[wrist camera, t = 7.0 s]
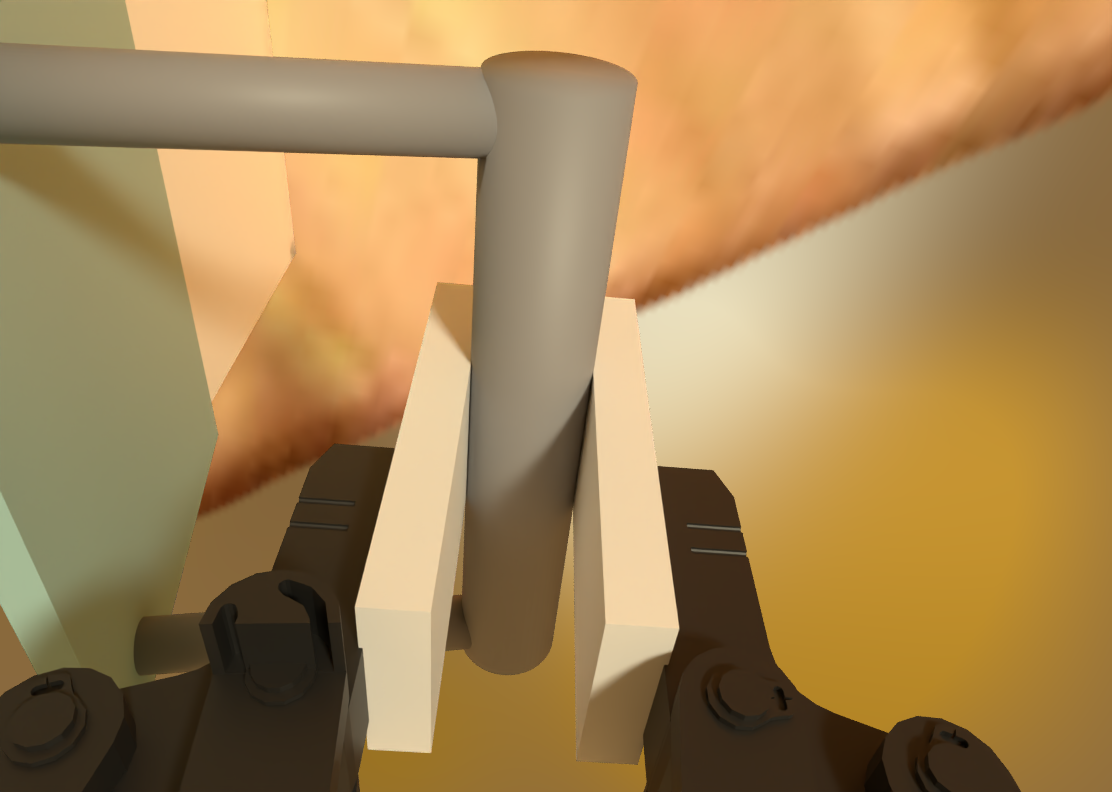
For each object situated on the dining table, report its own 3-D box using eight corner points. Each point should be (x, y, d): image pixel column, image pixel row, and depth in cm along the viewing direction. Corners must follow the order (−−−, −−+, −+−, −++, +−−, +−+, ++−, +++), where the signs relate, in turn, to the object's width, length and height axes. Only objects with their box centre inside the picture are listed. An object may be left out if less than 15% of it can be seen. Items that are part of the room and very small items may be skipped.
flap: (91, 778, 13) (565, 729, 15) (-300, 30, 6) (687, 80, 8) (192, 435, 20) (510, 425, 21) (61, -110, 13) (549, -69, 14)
